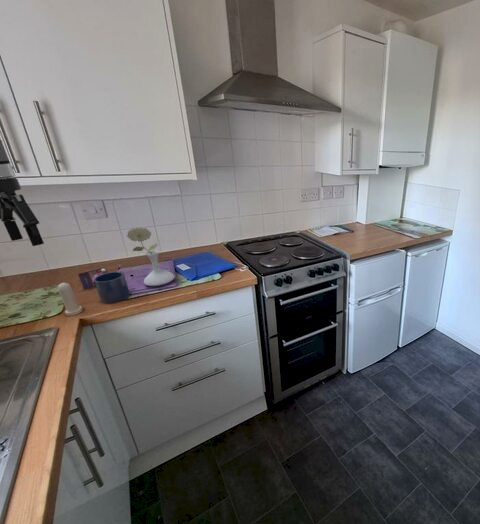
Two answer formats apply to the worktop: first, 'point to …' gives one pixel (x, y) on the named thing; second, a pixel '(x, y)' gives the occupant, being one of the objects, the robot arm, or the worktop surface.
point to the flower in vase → (157, 274)
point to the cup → (112, 287)
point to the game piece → (69, 299)
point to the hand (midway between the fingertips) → (27, 242)
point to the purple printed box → (86, 277)
